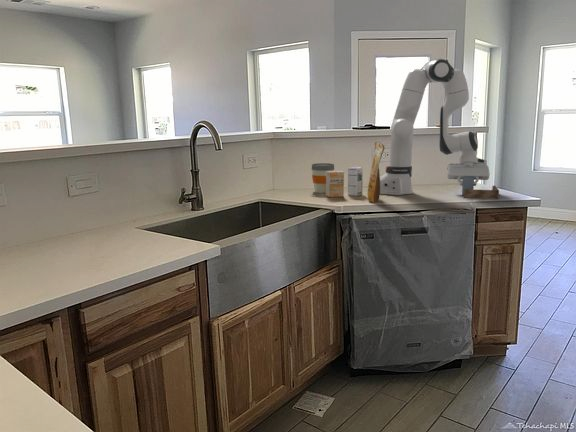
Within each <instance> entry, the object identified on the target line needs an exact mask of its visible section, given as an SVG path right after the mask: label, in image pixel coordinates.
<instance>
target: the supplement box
mask: <svg viewBox="0 0 576 432" xmlns="http://www.w3.org/2000/svg"><path fill="white" fill-rule="evenodd" d="M344 183H345V172H344V171H342V170H337V171H335V170H334V171H326V193H325V196H326V197H327V198H342V197H343V198H344V194H345V193H344V191H345V190H344V189H345V188H344V187H345V185H344Z"/></svg>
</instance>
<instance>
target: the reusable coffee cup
mask: <svg viewBox="0 0 576 432" xmlns="http://www.w3.org/2000/svg"><path fill="white" fill-rule="evenodd" d="M326 171H335V164H334V163H331V162H330V163H328V162H327V163H324V162H323V163H322V162H321V163H320V162H319V163H312V164H311V172H312V174H311V177H312V183H313V187H314V192H315V193H320V194H321V193H322V194H326Z"/></svg>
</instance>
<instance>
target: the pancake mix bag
mask: <svg viewBox="0 0 576 432" xmlns="http://www.w3.org/2000/svg"><path fill="white" fill-rule="evenodd" d="M384 151H385V145H384V144H383V143H381V142H379V141H375V142H374V155H373V160H372V165H371V169H370V175H369V178H368V179H369V180H368V186H367V187H368V188H367V199H368V202H369V203H378V202H379V201H380V196H381V194H380V177H381V176H380V167H379V166H380V162H381V159H382V157H383V154H384Z"/></svg>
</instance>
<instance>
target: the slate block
mask: <svg viewBox="0 0 576 432" xmlns="http://www.w3.org/2000/svg"><path fill="white" fill-rule="evenodd" d="M462 181H463V185H461V186H462V189H461V195H464V191H465V189H473V190H474V181H475V180H474V177H463V179H462Z"/></svg>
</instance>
